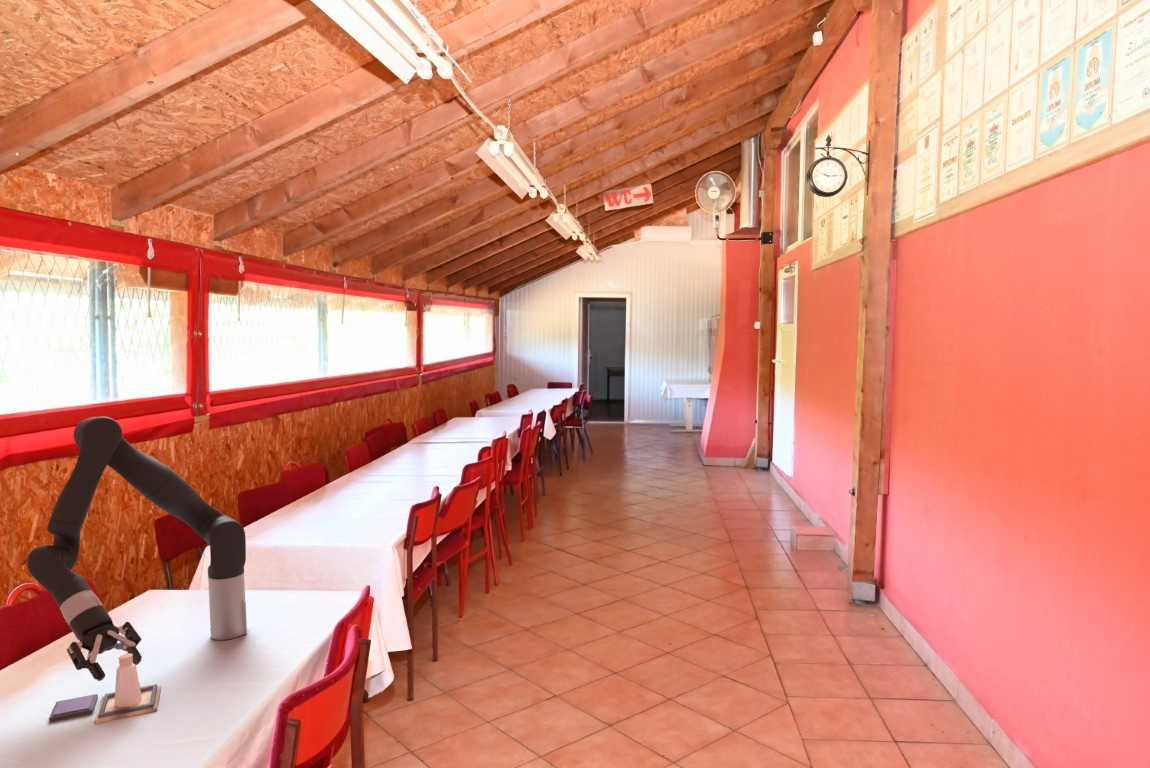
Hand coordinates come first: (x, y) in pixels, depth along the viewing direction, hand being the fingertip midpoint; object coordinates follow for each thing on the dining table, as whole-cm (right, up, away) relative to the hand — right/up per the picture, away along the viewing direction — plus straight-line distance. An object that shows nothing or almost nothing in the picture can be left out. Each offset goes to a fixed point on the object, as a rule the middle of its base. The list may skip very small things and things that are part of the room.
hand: (120, 670), depth 169 cm
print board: (+2, -8, -1) cm, 8 cm away
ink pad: (-9, -8, -3) cm, 12 cm away
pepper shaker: (+2, -7, 0) cm, 8 cm away
